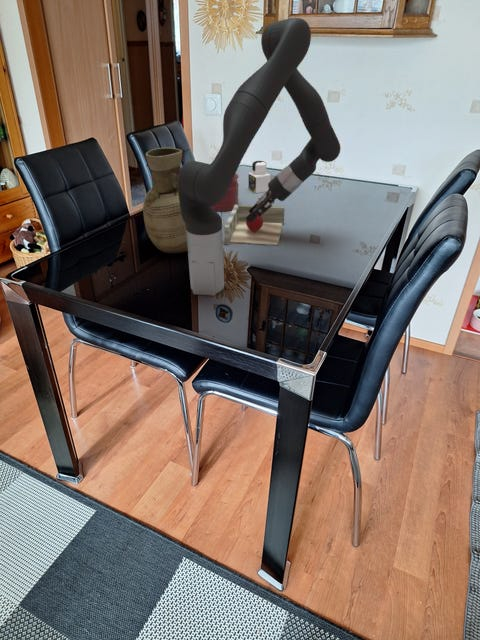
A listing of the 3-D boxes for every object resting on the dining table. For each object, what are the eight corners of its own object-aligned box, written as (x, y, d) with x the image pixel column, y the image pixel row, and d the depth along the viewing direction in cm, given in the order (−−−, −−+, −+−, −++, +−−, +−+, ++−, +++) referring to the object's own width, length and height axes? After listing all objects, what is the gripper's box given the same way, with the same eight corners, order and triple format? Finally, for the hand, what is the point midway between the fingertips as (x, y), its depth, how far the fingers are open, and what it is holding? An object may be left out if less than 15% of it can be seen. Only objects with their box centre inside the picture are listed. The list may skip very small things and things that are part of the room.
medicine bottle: (248, 188, 190) (248, 160, 184) (262, 186, 193) (263, 158, 186) (255, 193, 185) (255, 164, 178) (270, 191, 187) (270, 162, 181)
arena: (279, 247, 140) (279, 229, 137) (224, 244, 143) (224, 226, 139) (283, 222, 157) (284, 206, 154) (235, 220, 160) (234, 204, 156)
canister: (243, 209, 170) (243, 162, 160) (212, 213, 166) (210, 166, 156) (232, 199, 180) (231, 155, 170) (202, 203, 176) (199, 158, 166)
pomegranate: (261, 236, 146) (261, 214, 141) (244, 235, 147) (244, 213, 142) (264, 229, 151) (264, 207, 146) (247, 227, 152) (247, 206, 147)
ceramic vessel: (199, 229, 153) (193, 140, 136) (211, 254, 136) (206, 156, 119) (145, 235, 149) (132, 144, 132) (150, 262, 132) (136, 161, 115)
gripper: (279, 167, 142) (244, 201, 151) (275, 180, 131) (237, 216, 139) (294, 184, 145) (259, 216, 153) (292, 198, 133) (254, 232, 141)
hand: (249, 216), depth 146 cm, fingers open, 6 cm apart
